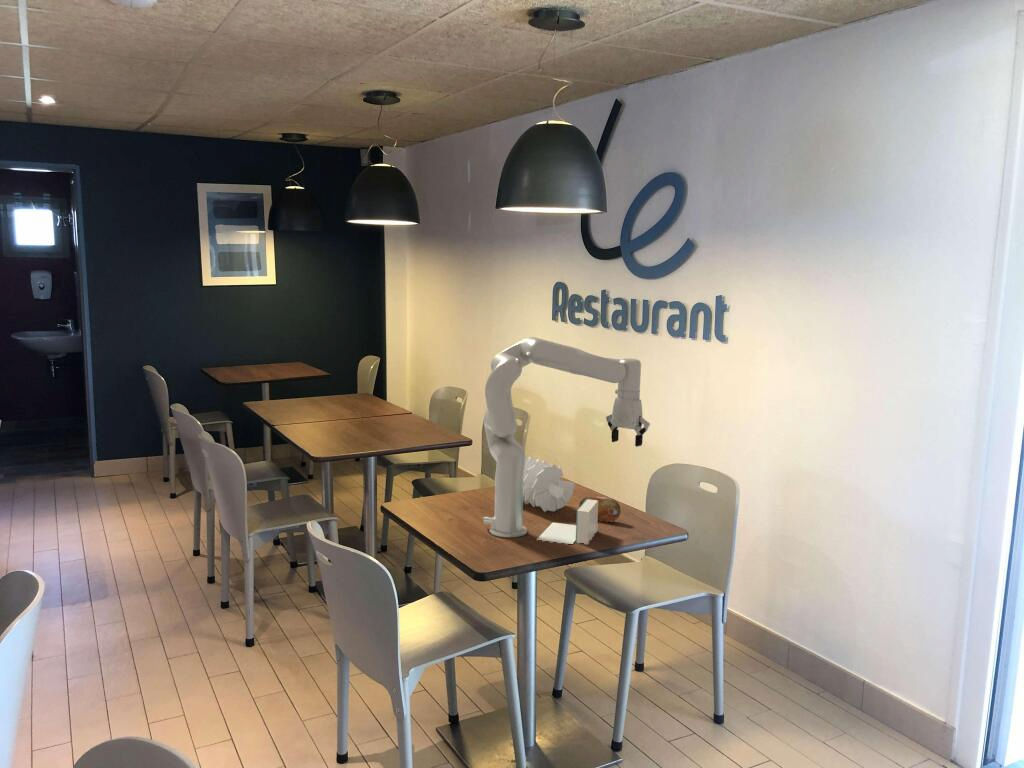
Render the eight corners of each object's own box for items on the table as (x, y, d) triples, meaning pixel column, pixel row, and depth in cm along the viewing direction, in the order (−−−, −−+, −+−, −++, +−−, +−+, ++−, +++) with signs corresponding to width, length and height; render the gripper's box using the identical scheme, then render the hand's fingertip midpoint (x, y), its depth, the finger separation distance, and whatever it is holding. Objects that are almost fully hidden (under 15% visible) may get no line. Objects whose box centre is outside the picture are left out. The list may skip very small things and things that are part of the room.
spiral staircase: (548, 526, 293) (506, 506, 312) (581, 499, 301) (539, 481, 321) (533, 485, 285) (492, 467, 305) (568, 459, 294) (526, 443, 313)
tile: (575, 543, 264) (576, 510, 262) (585, 530, 277) (586, 499, 276) (587, 544, 263) (588, 511, 261) (597, 531, 276) (598, 500, 274)
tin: (578, 517, 291) (579, 495, 290) (581, 515, 293) (582, 493, 292) (618, 524, 284) (618, 501, 283) (621, 522, 287) (622, 499, 285)
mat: (536, 540, 266) (536, 539, 265) (552, 523, 283) (552, 522, 283) (572, 545, 262) (572, 543, 262) (585, 527, 280) (586, 526, 280)
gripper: (601, 393, 280) (599, 441, 282) (644, 399, 269) (641, 449, 271) (614, 390, 286) (612, 438, 288) (656, 396, 274) (653, 446, 277)
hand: (626, 443), depth 280 cm, fingers open, 9 cm apart
